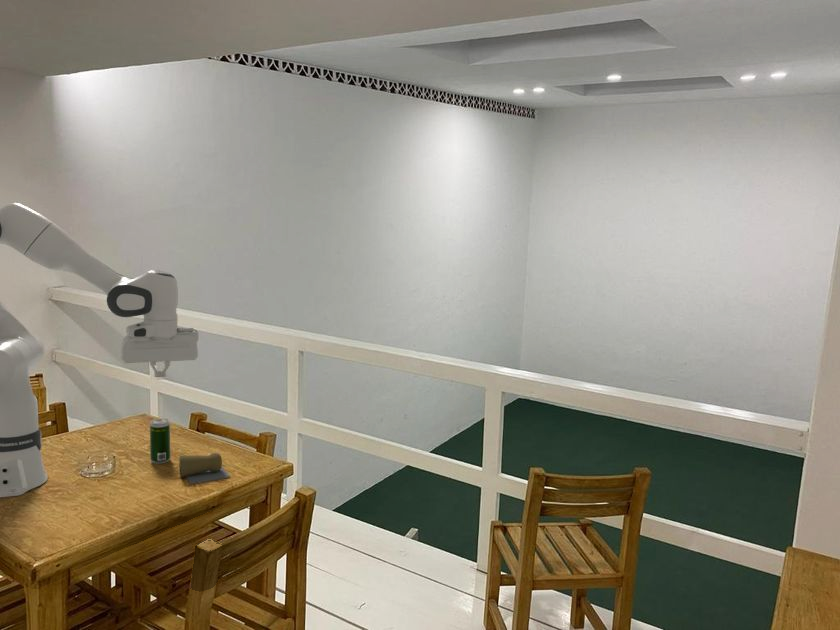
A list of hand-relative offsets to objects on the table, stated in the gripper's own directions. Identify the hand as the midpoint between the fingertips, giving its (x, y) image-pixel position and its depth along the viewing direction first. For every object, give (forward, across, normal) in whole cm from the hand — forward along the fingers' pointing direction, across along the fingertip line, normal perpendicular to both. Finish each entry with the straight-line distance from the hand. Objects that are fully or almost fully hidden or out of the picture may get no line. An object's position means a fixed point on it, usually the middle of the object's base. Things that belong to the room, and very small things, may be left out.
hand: (159, 376), depth 189 cm
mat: (+25, -10, +14) cm, 31 cm away
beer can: (+26, -1, -2) cm, 26 cm away
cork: (+22, -3, +13) cm, 26 cm away
